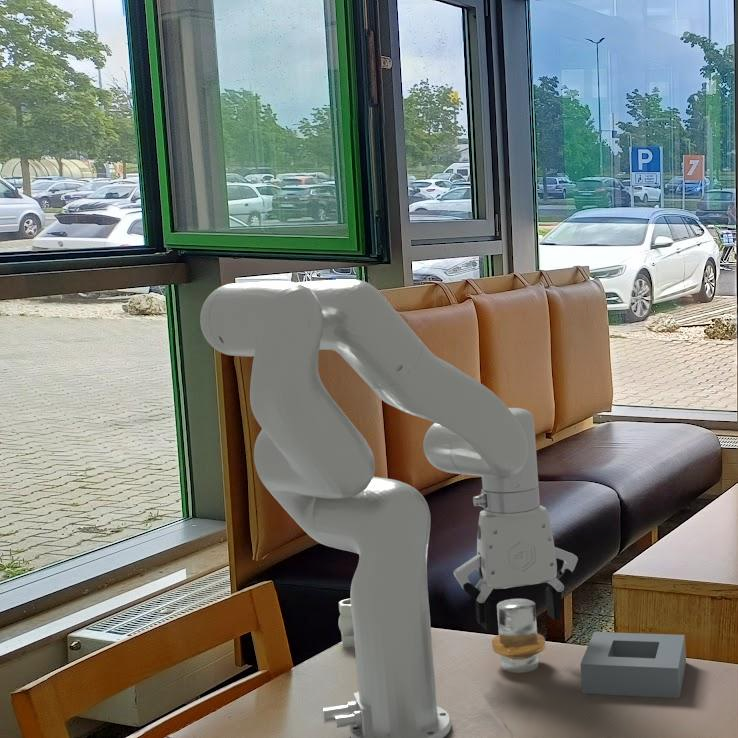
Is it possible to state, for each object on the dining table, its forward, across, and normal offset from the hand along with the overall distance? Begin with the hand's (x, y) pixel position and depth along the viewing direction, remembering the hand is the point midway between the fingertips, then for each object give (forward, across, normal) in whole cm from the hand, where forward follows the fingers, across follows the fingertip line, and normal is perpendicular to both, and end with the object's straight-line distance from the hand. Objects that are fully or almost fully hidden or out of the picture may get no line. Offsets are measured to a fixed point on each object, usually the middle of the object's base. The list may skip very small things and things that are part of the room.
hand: (520, 622), depth 156 cm
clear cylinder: (+7, 0, 0) cm, 7 cm away
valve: (+7, -16, +20) cm, 27 cm away
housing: (+7, +12, -10) cm, 17 cm away
